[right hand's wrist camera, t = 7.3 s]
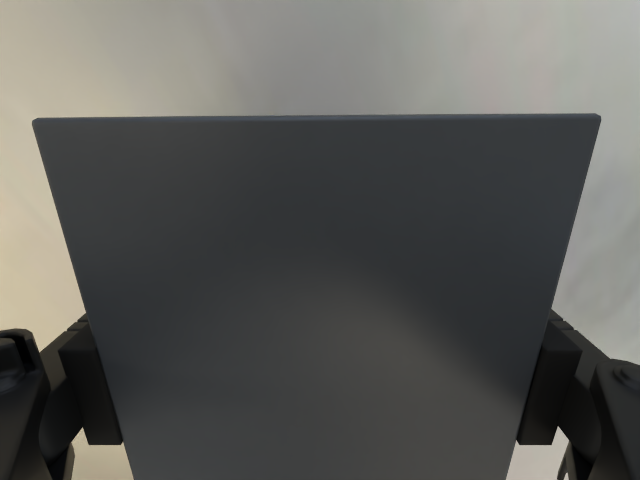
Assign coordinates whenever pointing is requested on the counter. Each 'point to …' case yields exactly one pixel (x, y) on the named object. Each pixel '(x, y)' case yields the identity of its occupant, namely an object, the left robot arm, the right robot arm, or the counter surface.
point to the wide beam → (318, 284)
